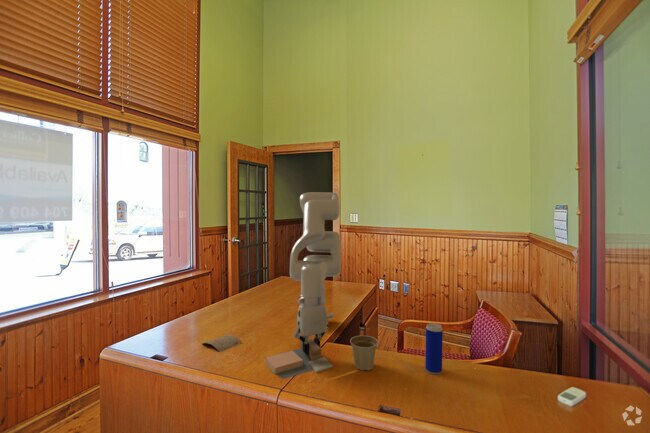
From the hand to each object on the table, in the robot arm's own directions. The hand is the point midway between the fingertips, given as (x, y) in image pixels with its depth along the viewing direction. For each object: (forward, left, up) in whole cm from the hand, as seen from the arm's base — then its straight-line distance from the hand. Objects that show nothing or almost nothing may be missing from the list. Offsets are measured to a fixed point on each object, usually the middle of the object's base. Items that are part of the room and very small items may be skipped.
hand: (311, 351), depth 110 cm
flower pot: (-13, +13, -3) cm, 19 cm away
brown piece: (0, +2, -2) cm, 2 cm away
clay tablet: (+24, -28, -4) cm, 37 cm away
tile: (+10, -5, -1) cm, 11 cm away
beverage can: (-31, +27, -3) cm, 41 cm away
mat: (+6, -1, -3) cm, 7 cm away
